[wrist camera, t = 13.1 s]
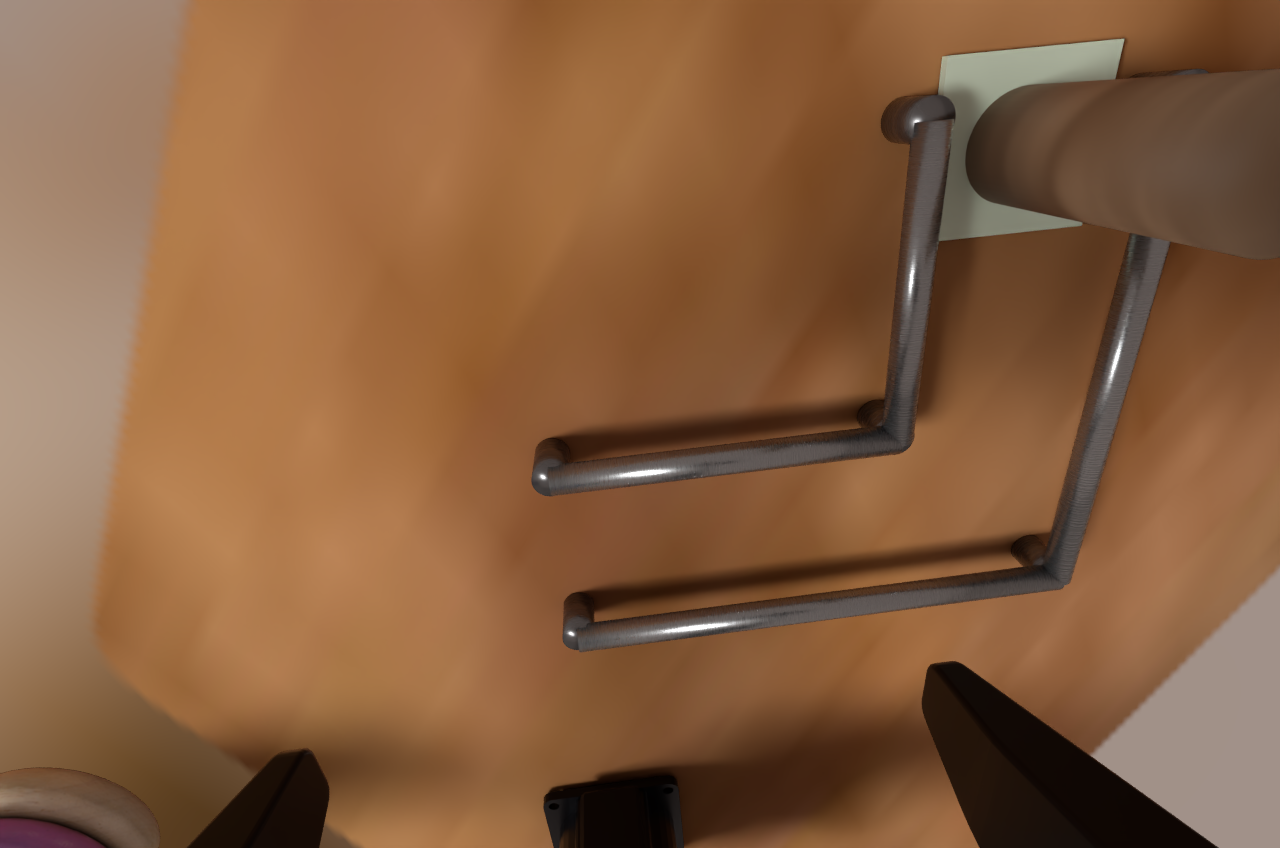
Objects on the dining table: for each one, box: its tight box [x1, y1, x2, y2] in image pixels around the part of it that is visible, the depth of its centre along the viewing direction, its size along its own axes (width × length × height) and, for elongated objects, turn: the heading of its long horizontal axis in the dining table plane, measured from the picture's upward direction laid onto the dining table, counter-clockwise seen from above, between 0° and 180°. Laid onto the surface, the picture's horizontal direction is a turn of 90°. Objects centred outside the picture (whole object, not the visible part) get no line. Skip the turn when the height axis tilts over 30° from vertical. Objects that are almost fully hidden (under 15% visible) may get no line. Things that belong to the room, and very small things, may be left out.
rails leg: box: [881, 69, 1208, 585], centre depth 20 cm, size 17×8×2 cm, turn 5°
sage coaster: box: [938, 39, 1124, 241], centre depth 18 cm, size 5×5×1 cm
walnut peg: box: [965, 69, 1280, 260], centre depth 15 cm, size 3×3×8 cm
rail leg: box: [532, 400, 1064, 652], centre depth 23 cm, size 8×20×2 cm, turn 95°
